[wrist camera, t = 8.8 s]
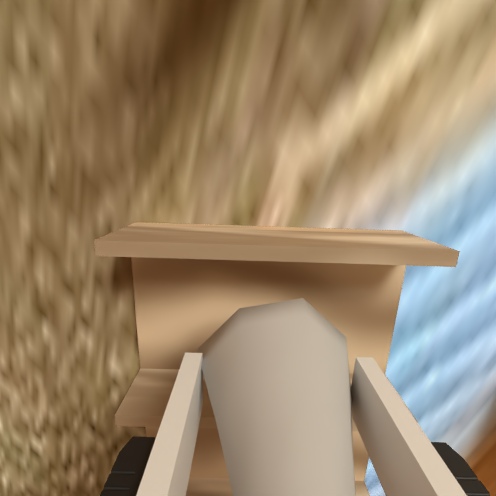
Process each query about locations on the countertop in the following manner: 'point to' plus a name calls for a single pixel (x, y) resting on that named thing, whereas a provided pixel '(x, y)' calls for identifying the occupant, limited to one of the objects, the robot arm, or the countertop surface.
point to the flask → (282, 401)
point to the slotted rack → (252, 294)
